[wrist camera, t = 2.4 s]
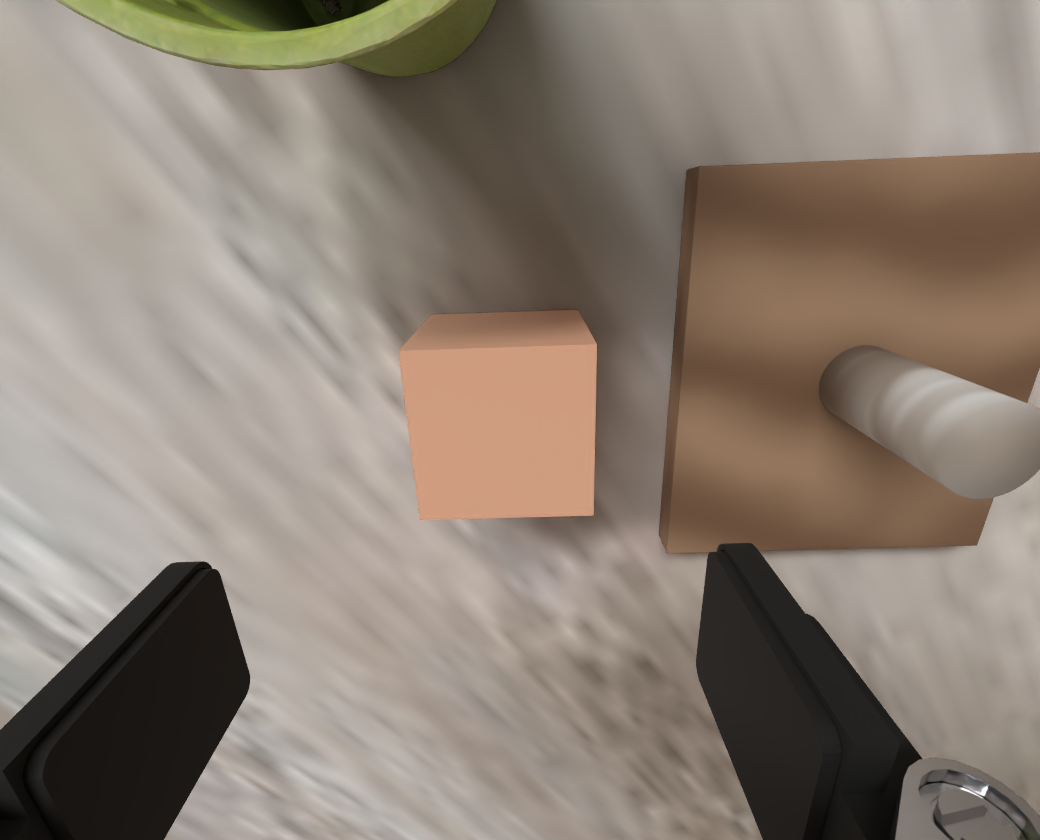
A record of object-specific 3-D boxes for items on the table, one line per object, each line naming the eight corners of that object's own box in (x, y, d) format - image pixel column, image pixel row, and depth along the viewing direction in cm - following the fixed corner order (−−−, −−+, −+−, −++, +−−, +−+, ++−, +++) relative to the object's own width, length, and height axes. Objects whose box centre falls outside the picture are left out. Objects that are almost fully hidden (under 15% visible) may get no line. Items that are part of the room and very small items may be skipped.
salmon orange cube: (431, 314, 21) (398, 350, 16) (577, 309, 21) (596, 344, 15) (445, 446, 23) (419, 520, 18) (577, 443, 23) (593, 515, 18)
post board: (686, 169, 19) (789, 142, 12) (1072, 154, 19) (1431, 115, 11) (658, 534, 25) (715, 669, 18) (951, 526, 25) (1134, 661, 17)
